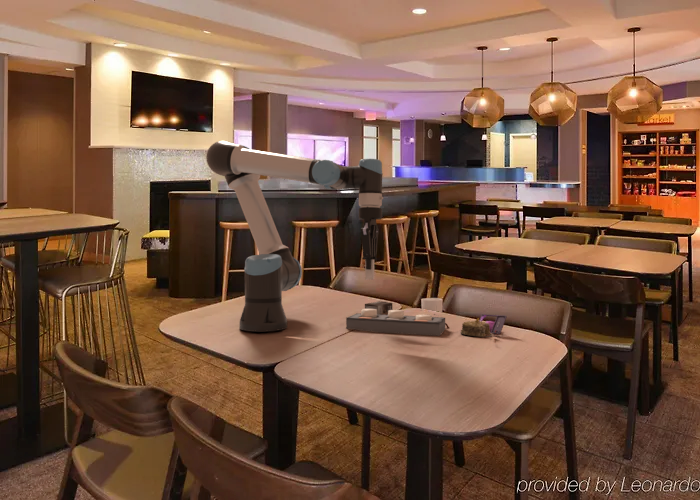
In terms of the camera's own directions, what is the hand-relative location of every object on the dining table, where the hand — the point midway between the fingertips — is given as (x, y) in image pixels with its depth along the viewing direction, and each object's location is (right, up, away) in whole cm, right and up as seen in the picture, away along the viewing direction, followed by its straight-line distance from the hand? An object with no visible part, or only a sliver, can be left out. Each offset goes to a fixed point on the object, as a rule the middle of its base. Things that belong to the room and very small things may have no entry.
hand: (369, 279), depth 181 cm
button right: (+17, -14, -5) cm, 23 cm away
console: (+8, -16, -2) cm, 18 cm away
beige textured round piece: (+33, -17, -10) cm, 38 cm away
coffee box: (+4, -26, +19) cm, 32 cm away
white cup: (+24, -19, +25) cm, 40 cm away
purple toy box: (+42, -15, -8) cm, 46 cm away
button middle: (+8, -13, -3) cm, 16 cm away
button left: (0, -13, 0) cm, 13 cm away
